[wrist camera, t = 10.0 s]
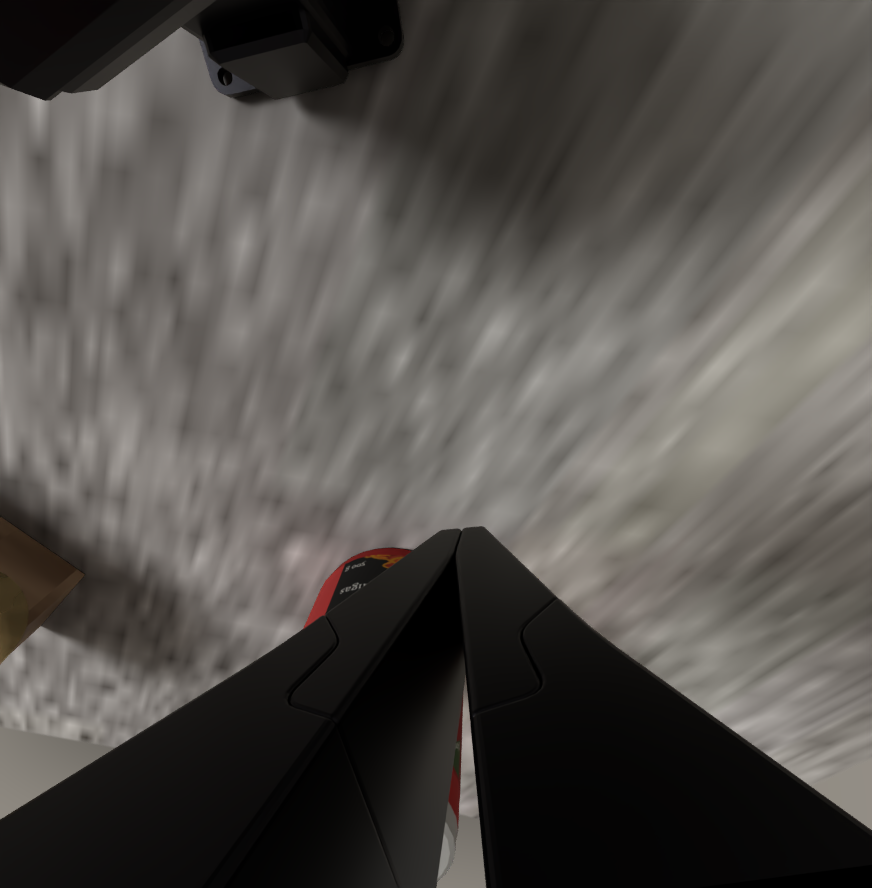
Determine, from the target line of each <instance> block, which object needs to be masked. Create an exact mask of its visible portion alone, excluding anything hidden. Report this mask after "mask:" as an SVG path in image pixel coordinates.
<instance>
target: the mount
mask: <svg viewBox="0 0 872 888" xmlns="http://www.w3.org/2000/svg"><path fill="white" fill-rule="evenodd" d="M0 572H2V573H4V574H6V575H7V576H8V577H10V578H11V579H12V580H13V581H14V582H15V583H16V584H17V585H18V586H19V587H20V589H21V590H22V591H23V593H24V595H25V597H26V600H27V604H28V610H29V617H28V623H27V627H26V630H25V632H24V635H23V636H22V638H21V640H20V642H19V643H18V644H17V646H16V647H15V648H14V650H15V649H16V648H17V647H18V646H19V645H20V644H21V643H23V642H24V641H25V640H26V639H27V638H28V637H29V636H30V635H31V634H32V633H33V632H35V631H36V630H37V629H38V628H39V627H40V626H41V625H42V624H43V623H44V621H45V620H46V619H47V618H48V617H49V616H50V615H51V613H52V612H53V611H54V610H55V609H56V608H57V606H58V605H59V604H60V603H61V602H62V601H63V600H64V598H65V597H66V596H67V595H68V594H69V593H70V592H71V590H72V589H73V588H74V587H75V586H76V585H77V584H78V582H79V581H80V580H81V579H82V578H83V577H84V576H85V574H83V573H82V572H80V571H79V570H78V569H76V568H75V567H73V566H72V565H70V564H69V563H67V562H66V561H64V560H63V559H61V558H60V557H59V556H57V555H56V554H54V553H53V552H51V551H50V550H48V549H47V548H45V547H44V546H42V545H41V544H40V543H38V542H37V541H35V540H34V539H32V538H31V537H29V536H28V535H26V534H25V533H24V532H22V531H21V530H19V529H18V528H16V527H15V526H13V525H12V524H10V523H9V522H7V521H6V520H5V519H3V518H2V517H0ZM14 650H13V651H14ZM13 651H12V652H13ZM12 652H11V653H12Z"/></svg>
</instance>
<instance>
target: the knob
mask: <svg viewBox="0 0 872 888" xmlns="http://www.w3.org/2000/svg"><path fill="white" fill-rule="evenodd" d="M28 617H29V610H28V604H27V600H26V597H25V595H24V593H23V591H22V590H21V589H20V587H19V586H18V585H17V584H16V583H15V582H14V581H13V580H12V579H11V578H10V577H8V576H7V575H6V574H4V573H2V572H0V664H1V663H2V662H3V661H4V660H5V659H6V658H7V656H8V655H9V654H10V653H11V652H12V651H13V650H14V648H15V647H16V646H17V644H18V643H19V642H20V640H21V638H22V636H23V635H24V632H25V630H26V627H27V623H28Z"/></svg>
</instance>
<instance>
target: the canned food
mask: <svg viewBox="0 0 872 888" xmlns="http://www.w3.org/2000/svg"><path fill="white" fill-rule="evenodd" d="M410 552H411V551H409V550H405V549H396V548H382V549H374V550H370V551H365V552H362V553H360V554H358V555H355V556H353V557H351V558H350V559H348V560H347V561H345V562H344V563H343V564H341V565H340V566H339V567H338V568H337V569H336V570H335V571H334V572H333V573H332V574H331V576H330V577H329V578H328V579H327V580H326V581H325V583H324V585H323V587H322V588H321V590H320V592H319V595H318V597H317V599H316V601H315V604H314V606H313V608H312V610H311V613H310V615H309V617H308V619H307V622H306V624H305V626H304V628H305V627H307V626H308V625H310V624H311V623H312V622H314V621H315V620H316V619H318V618H319V617H320V616H322V615H324V616H325V615H326V613H327V612H329V611H330V610H331V609H333V608H334V607H336V606H337V605H338V604H340V603H341V602H342V601H344V600H345V599H347V598H348V597H349V596H351V595H352V594H354V593H355V592H356V591H358V590H359V589H360V588H362V587H363V586H365V585H366V584H367V583H369V582H370V581H371V580H373V579H374V578H376V577H377V576H378V575H380V574H381V573H382V572H384V571H385V570H387V569H388V568H389V567H391V566H392V565H393V564H395V563H396V562H398V561H399V560H400V559H402V558H403V557H405V556H406V555H407V554H409V553H410ZM304 628H303V629H304ZM462 716H463V697H462V704H461V712H460V719H459V726H458V733H457V741H456V748H455V755H454V763H453V770H452V777H451V784H450V792H449V799H448V806H447V814H446V821H445V828H444V835H443V843H442V850H441V857H440V865H439V872H438V879H437V882H438V881H439V880H440V879H441V878H442V877H443V876H444V875H445V874H446V873H447V871H448V870H449V868H450V866H451V865H452V863H453V859H454V855H455V848H456V847H455V846H456V838H457V833H458V820H459V800H460V780H461V748H462Z"/></svg>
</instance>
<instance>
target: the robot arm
mask: <svg viewBox="0 0 872 888" xmlns="http://www.w3.org/2000/svg"><path fill="white" fill-rule="evenodd" d="M180 27H182V28H183V29H185V30H186V31H188V32H189V33H191V34H192V35H194V36H196V37H197V38H199V41H200V44H201V47H202V51H203V54H204V58H205V61H206V64H207V68H208V71H209V75H210V78H211V81H212V83H213V85H214V87H215V88H216V89H217V90H218V91H219V92H220V93H222V94H224V95H226V96H228V97H233V98H236V97H240V96H244V95H248V94H252V93H256V92H261V91H262V92H264V93H265V94H267V95H268V96H270V97H272V98H273V99H280V98H285V97H289V96H293V95H297V94H301V93H306V92H310V91H314V90H318V89H322V88H327V87H331V86H335V85H339V84H343V83H344V82H345V80H346V79H347V77H348V75H349V73H348V70H351V69H355V68H360V67H364V66H368V65H372V64H376V63H380V62H384V61H388V60H392V59H394V58H396V57H397V56H398V55H399V54H400V53H401V51H402V48H403V45H404V36H403V29H402V23H401V17H400V10H399V4H398V0H0V84H1V85H4V86H6V87H9V88H11V89H14V90H17V91H20V92H23V93H25V94H28V95H31V96H34V97H37V98H39V99H42V100H45V101H46V100H52V99H53V98H54V97H56V96H57V95H58V94H59V93H61V92H62V91H63V92H67V93H77V92H84V91H91V90H98V89H99V88H101V87H102V86H103V85H105V84H106V83H107V82H109V81H110V80H111V79H113V78H114V77H115V76H117V75H118V74H119V73H121V72H122V71H123V70H124V69H126V68H127V67H128V66H130V65H131V64H132V63H134V62H135V61H136V60H138V59H139V58H140V57H142V56H143V55H144V54H146V53H147V52H148V51H150V50H151V49H152V48H154V47H155V46H156V45H158V44H159V43H160V42H162V41H163V40H164V39H166V38H167V37H168V36H169V35H171V34H172V33H173V32H175V31H176V30H177V29H179V28H180ZM385 31H392V32H393V33H394V41H393V43H392V44H391V45H389V46H383V45H382V44H381V36H382V34H383V33H384V32H385ZM227 71H229V72H231V73H232V79H233V80H232V82H231V84H230V85H228V86H226V85H225V83H224V80H223V76H224V74H225V72H227ZM465 675H466V681H467V691H468V702H469V712H470V721H471V734H472V744H473V755H474V765H475V776H476V786H477V796H478V807H479V817H480V827H481V838H482V848H483V859H484V868H485V880H486V888H872V830H871V829H869V828H868V827H867V826H865V825H864V824H862V823H861V822H860V821H858V820H857V819H855V818H854V817H853V816H851V815H850V814H848V813H847V812H846V811H844V810H843V809H841V808H840V807H839V806H837V805H836V804H835V803H833V802H832V801H830V800H829V799H827V798H826V797H825V796H823V795H822V794H820V793H819V792H818V791H816V790H815V789H814V788H812V787H811V786H809V785H808V784H807V783H805V782H804V781H803V780H801V779H800V778H798V777H797V776H796V775H794V774H793V773H791V772H790V771H789V770H787V769H786V768H784V767H783V766H782V765H780V764H779V763H777V762H776V761H775V760H773V759H772V758H771V757H769V756H768V755H766V754H765V753H764V752H762V751H761V750H759V749H758V748H757V747H755V746H754V745H752V744H751V743H750V742H748V741H747V740H745V739H744V738H743V737H741V736H740V735H739V734H737V733H736V732H734V731H733V730H732V729H730V728H729V727H727V726H726V725H725V724H723V723H722V722H720V721H719V720H718V719H716V718H715V717H713V716H712V715H711V714H709V713H708V712H706V711H705V710H704V709H702V708H701V707H700V706H698V705H697V704H695V703H694V702H693V701H691V700H690V699H688V698H687V697H686V696H684V695H683V694H681V693H680V692H679V691H677V690H676V689H674V688H673V687H672V686H670V685H669V684H668V683H666V682H665V681H663V680H662V679H661V678H659V677H658V676H656V675H655V674H654V673H652V672H651V671H649V670H648V669H647V668H645V667H644V666H642V665H641V664H640V663H638V662H637V661H635V660H634V659H633V658H631V657H630V656H629V655H627V654H626V653H624V652H623V651H622V650H620V649H619V648H617V647H616V646H615V645H614V644H612V643H611V642H610V641H608V640H607V639H606V638H604V637H603V636H602V635H600V634H599V633H598V632H597V631H595V630H594V629H593V628H591V627H590V626H589V625H588V624H587V623H586V622H585V621H583V620H582V619H581V618H580V617H579V616H578V615H577V614H576V613H574V612H573V611H572V610H571V609H570V608H569V607H568V606H567V605H566V604H565V603H564V602H563V601H562V600H560V599H558V598H557V597H556V596H555V595H554V594H553V593H552V592H551V591H550V590H549V589H548V588H547V587H546V586H545V585H544V584H543V583H542V582H541V581H540V580H539V579H538V578H537V577H536V576H535V575H534V574H533V573H531V572H530V571H529V570H528V569H527V568H526V567H525V566H524V565H523V564H522V563H521V562H520V561H519V560H518V559H517V558H516V557H515V556H514V555H513V554H512V553H511V552H510V551H509V550H508V549H507V548H505V547H504V546H503V545H502V544H501V543H500V542H499V541H498V540H497V539H496V538H495V537H494V536H493V535H492V534H491V533H490V532H489V531H488V530H487V529H486V528H485V527H482V526H480V527H469V528H464V529H463V530H462V531H461V530H460V529H447V530H441V531H439V532H438V533H436V534H435V535H433V536H432V537H431V538H429V539H428V540H427V541H425V542H424V543H422V544H421V545H420V546H418V547H417V548H416V549H414V550H413V551H411V552H410V553H409V554H407V555H406V556H405V557H403V558H402V559H400V560H399V561H398V562H396V563H395V564H393V565H392V566H391V567H389V568H388V569H387V570H385V571H384V572H382V573H381V574H380V575H378V576H377V577H376V578H374V579H373V580H371V581H370V582H369V583H367V584H366V585H365V586H363V587H362V588H360V589H359V590H358V591H356V592H355V593H354V594H352V595H351V596H349V597H348V598H347V599H345V600H344V601H342V602H341V603H340V604H338V605H337V606H336V607H334V608H333V609H331V610H330V611H329V612H327V613H326V615H325V616H324V615H322V616H320V617H319V618H318V619H316V620H315V621H314V622H312V623H311V624H310V625H308V626H307V627H305V628H304V629H302V630H301V631H300V632H298V633H297V634H295V635H294V636H292V637H291V638H289V639H288V640H287V641H285V642H284V643H282V644H281V645H279V646H278V647H276V648H275V649H273V650H272V651H270V652H268V653H267V654H265V655H264V656H262V657H261V658H259V659H258V660H256V661H254V662H253V663H251V664H250V665H248V666H247V667H245V668H243V669H242V670H240V671H239V672H237V673H235V674H234V675H232V676H231V677H229V678H227V679H226V680H224V681H223V682H221V683H219V684H218V685H216V686H214V687H213V688H211V689H210V690H208V691H206V692H205V693H203V694H202V695H200V696H198V697H197V698H195V699H194V700H192V701H190V702H189V703H187V704H186V705H184V706H182V707H181V708H179V709H177V710H176V711H174V712H173V713H171V714H169V715H168V716H166V717H165V718H163V719H161V720H160V721H158V722H157V723H155V724H153V725H152V726H150V727H148V728H147V729H145V730H144V731H142V732H140V733H139V734H137V735H136V736H134V737H132V738H131V739H129V740H128V741H126V742H124V743H123V744H121V745H120V746H118V747H116V748H115V749H113V750H111V751H110V752H108V753H107V754H105V755H103V756H102V757H100V758H99V759H97V760H95V761H94V762H92V763H91V764H89V765H87V766H86V767H84V768H83V769H81V770H79V771H78V772H76V773H75V774H73V775H71V776H70V777H68V778H66V779H65V780H63V781H62V782H60V783H58V784H57V785H55V786H54V787H52V788H50V789H49V790H47V791H46V792H44V793H42V794H41V795H39V796H37V797H36V798H34V799H33V800H31V801H29V802H28V803H26V804H25V805H23V806H21V807H20V808H18V809H17V810H15V811H13V812H12V813H10V814H8V815H7V816H5V817H4V818H2V819H0V888H436V886H437V879H438V872H439V865H440V857H441V850H442V843H443V835H444V828H445V821H446V814H447V806H448V799H449V792H450V784H451V777H452V770H453V763H454V755H455V748H456V741H457V733H458V726H459V719H460V712H461V704H462V697H463V690H464V682H465Z"/></svg>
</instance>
